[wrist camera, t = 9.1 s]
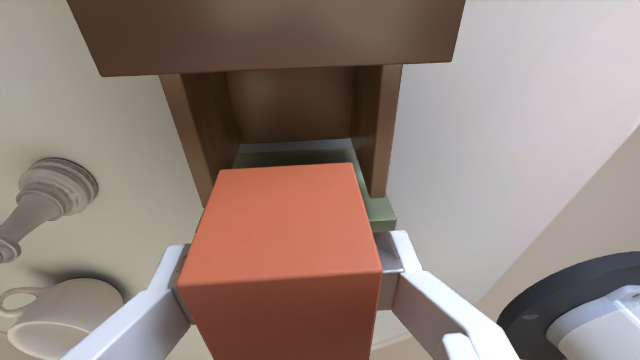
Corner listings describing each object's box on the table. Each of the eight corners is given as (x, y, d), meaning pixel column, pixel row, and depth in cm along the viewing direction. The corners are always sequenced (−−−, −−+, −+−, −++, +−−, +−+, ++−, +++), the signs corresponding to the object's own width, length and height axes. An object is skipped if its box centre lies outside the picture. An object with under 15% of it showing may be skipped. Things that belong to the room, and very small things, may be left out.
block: (352, 161, 10) (384, 270, 6) (348, 250, 12) (369, 364, 9) (218, 168, 10) (172, 285, 6) (242, 257, 12) (220, 376, 9)
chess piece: (70, 210, 24) (-43, 330, 16) (19, 171, 22) (-145, 288, 14) (111, 191, 24) (14, 307, 15) (62, 148, 21) (-84, 259, 13)
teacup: (148, 288, 31) (124, 341, 27) (115, 319, 34) (88, 371, 29) (42, 245, 26) (-9, 300, 22) (14, 284, 29) (-36, 340, 25)
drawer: (363, 202, 25) (386, 282, 18) (239, 210, 24) (218, 294, 18) (383, -48, 15) (445, -61, 9) (177, -42, 15) (85, -51, 8)
